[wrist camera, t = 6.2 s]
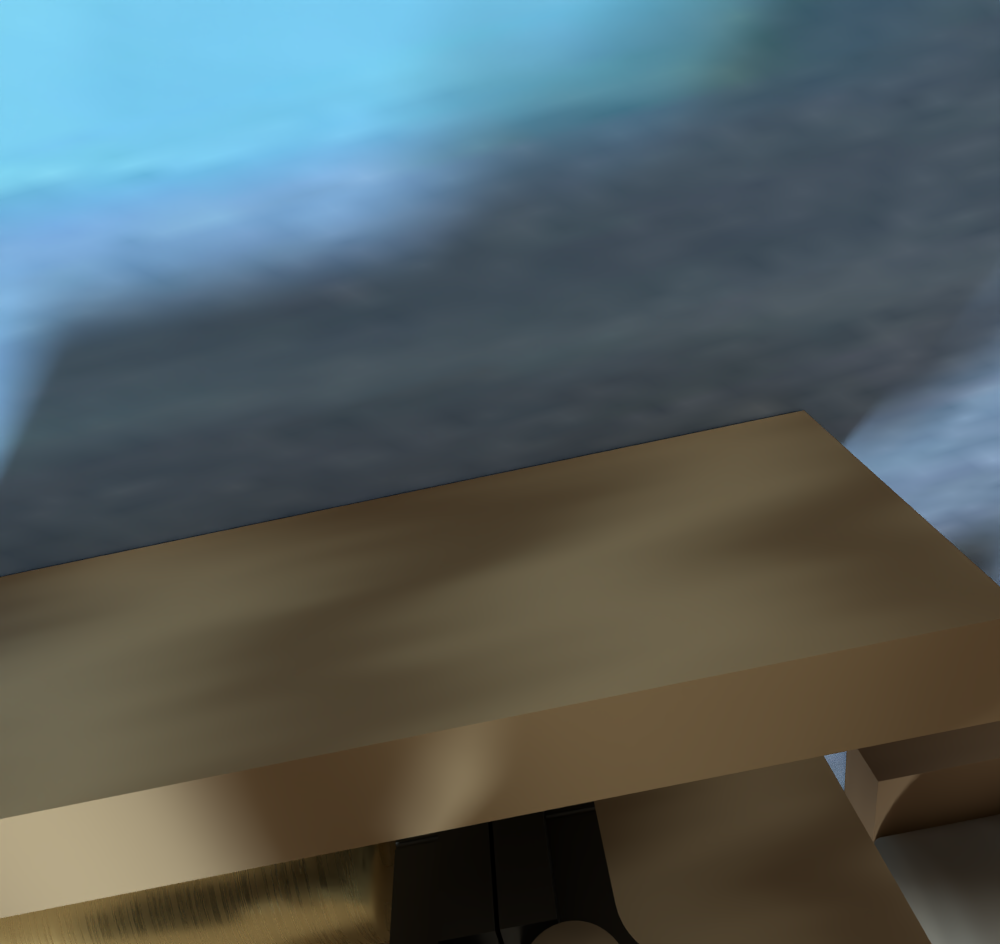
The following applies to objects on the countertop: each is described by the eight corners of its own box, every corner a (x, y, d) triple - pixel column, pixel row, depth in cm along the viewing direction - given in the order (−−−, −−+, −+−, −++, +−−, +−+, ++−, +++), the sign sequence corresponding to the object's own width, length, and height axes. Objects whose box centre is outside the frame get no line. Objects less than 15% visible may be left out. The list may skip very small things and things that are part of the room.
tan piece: (803, 410, 12) (1028, 612, 7) (800, 765, 16) (943, 1034, 11) (-51, 587, 12) (-334, 886, 8) (161, 891, 16) (57, 1201, 12)
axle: (357, 629, 13) (338, 860, 9) (411, 762, 15) (411, 984, 12) (-311, 760, 13) (-557, 1030, 10) (-157, 871, 15) (-312, 1119, 12)
